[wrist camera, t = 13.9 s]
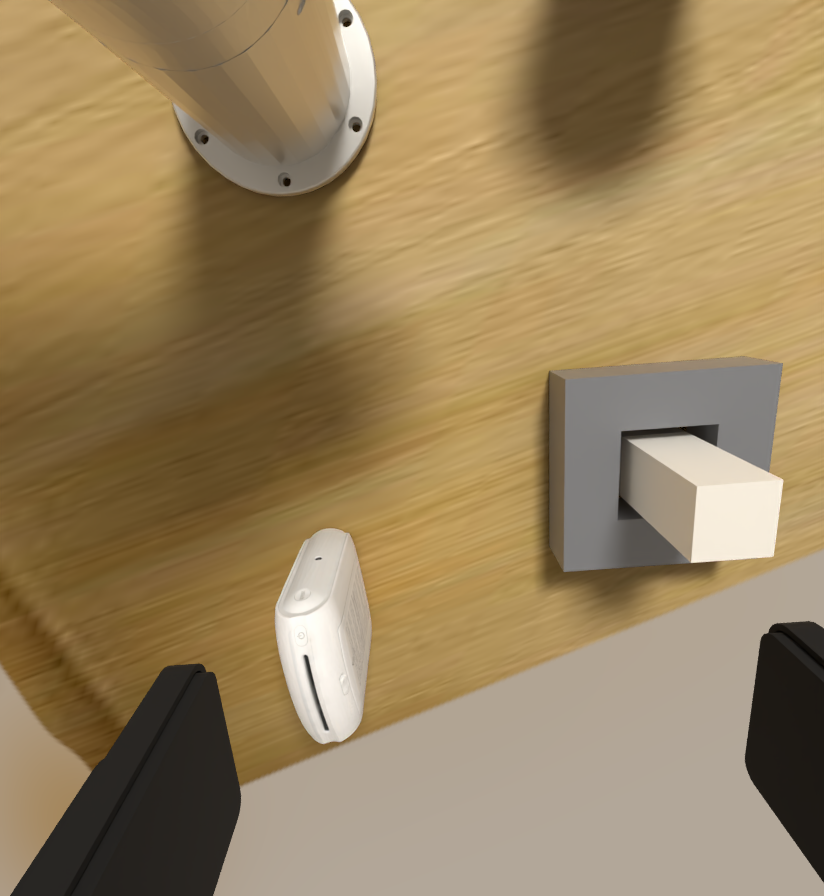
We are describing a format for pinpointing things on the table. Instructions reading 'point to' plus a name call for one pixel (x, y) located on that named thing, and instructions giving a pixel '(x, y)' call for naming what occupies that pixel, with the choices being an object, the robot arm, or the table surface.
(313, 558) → the photo printer
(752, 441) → the socket box
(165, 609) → the table surface
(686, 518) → the plug
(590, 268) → the table surface
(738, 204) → the table surface
